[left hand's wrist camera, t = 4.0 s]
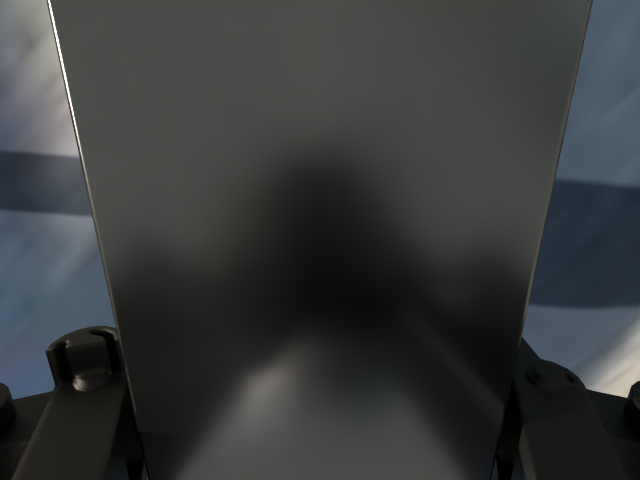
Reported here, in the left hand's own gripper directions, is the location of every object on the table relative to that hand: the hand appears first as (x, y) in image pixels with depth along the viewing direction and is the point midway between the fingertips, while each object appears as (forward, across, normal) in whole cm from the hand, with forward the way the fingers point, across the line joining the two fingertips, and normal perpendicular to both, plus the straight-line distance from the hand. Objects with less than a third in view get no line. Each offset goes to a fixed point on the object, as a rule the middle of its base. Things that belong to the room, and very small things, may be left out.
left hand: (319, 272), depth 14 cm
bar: (+1, 0, -11) cm, 11 cm away
